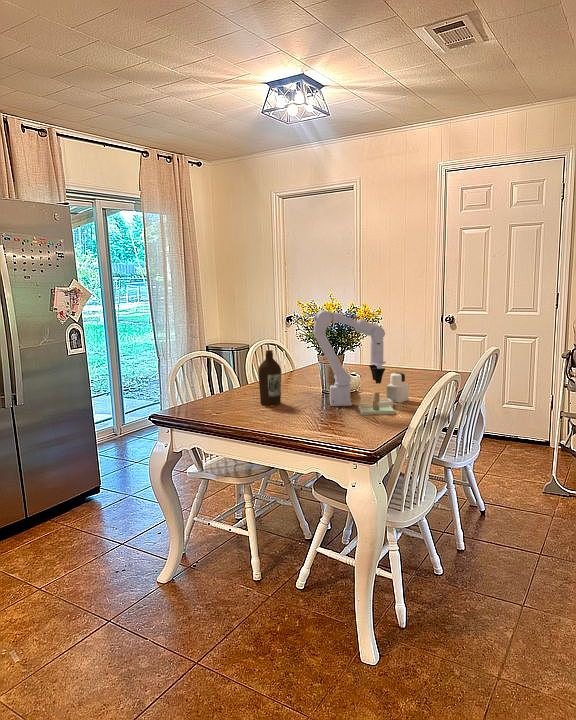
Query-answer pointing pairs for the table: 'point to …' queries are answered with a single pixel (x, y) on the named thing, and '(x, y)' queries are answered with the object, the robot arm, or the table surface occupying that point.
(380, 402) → the square block with hole
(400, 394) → the container
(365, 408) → the tray
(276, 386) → the olive oil
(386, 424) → the table surface
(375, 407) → the dowel
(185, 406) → the table surface
